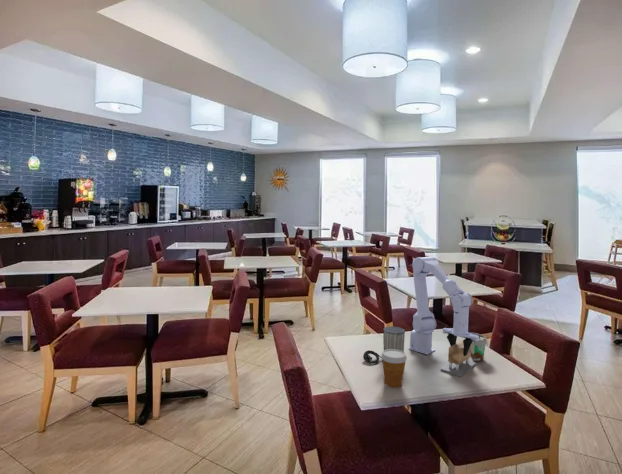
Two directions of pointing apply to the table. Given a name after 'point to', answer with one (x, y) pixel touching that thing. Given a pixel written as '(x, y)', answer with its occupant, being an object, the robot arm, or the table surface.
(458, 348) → the shelf block
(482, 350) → the food container
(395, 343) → the milk frother
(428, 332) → the robot arm
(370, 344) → the table surface
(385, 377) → the disposable coffee cup
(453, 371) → the peg plate
